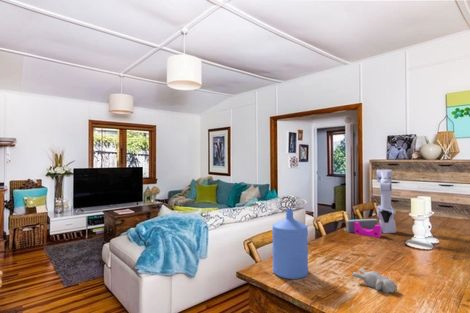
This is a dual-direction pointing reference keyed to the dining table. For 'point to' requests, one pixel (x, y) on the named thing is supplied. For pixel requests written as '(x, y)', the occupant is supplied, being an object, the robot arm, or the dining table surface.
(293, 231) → the water jug
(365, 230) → the toy block
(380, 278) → the bunny figurine
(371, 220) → the backstop wall
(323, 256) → the dining table surface
